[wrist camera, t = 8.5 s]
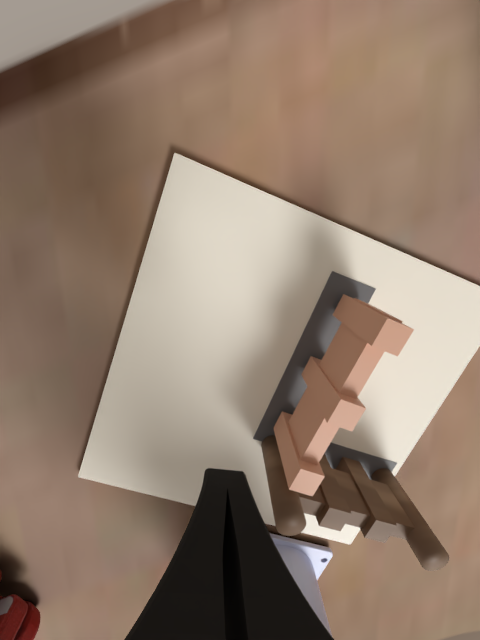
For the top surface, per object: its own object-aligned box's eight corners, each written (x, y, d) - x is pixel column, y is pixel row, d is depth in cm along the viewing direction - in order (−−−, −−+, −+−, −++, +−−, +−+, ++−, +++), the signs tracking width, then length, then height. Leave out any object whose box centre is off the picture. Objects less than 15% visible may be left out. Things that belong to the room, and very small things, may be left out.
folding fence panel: (290, 435, 21) (311, 497, 16) (272, 429, 20) (288, 490, 16) (364, 301, 18) (415, 327, 13) (344, 292, 18) (389, 316, 13)
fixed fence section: (385, 487, 23) (439, 573, 17) (257, 450, 21) (270, 532, 16) (395, 470, 23) (454, 553, 17) (266, 432, 21) (283, 509, 15)
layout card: (348, 539, 25) (350, 545, 24) (80, 472, 21) (77, 477, 21) (504, 297, 19) (510, 299, 19) (175, 154, 16) (174, 152, 15)
